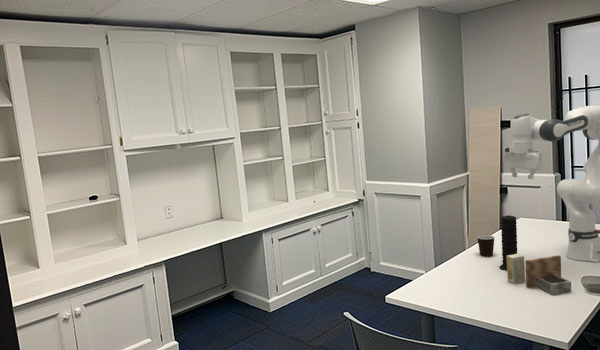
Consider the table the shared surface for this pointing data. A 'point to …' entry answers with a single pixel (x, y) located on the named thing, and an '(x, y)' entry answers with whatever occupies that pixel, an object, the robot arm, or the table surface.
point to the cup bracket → (546, 275)
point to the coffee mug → (486, 245)
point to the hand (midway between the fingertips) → (522, 177)
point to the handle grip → (508, 238)
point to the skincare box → (515, 268)
